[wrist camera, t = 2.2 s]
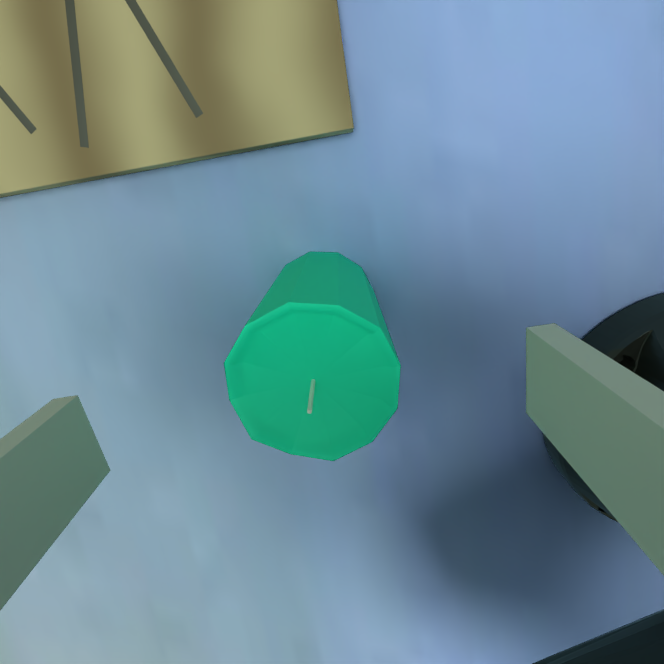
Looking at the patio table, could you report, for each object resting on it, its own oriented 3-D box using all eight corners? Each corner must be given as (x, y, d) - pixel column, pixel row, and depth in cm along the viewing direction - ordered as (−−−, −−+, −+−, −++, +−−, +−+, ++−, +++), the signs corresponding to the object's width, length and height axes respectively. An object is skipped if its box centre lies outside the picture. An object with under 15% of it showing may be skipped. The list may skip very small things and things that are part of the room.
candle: (285, 236, 22) (230, 288, 11) (389, 267, 22) (442, 348, 11) (260, 335, 24) (191, 467, 12) (356, 361, 24) (373, 511, 13)
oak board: (321, -99, 17) (320, -125, 16) (352, 132, 20) (353, 127, 19) (-185, 15, 19) (-228, 1, 17) (-86, 213, 22) (-116, 215, 20)
